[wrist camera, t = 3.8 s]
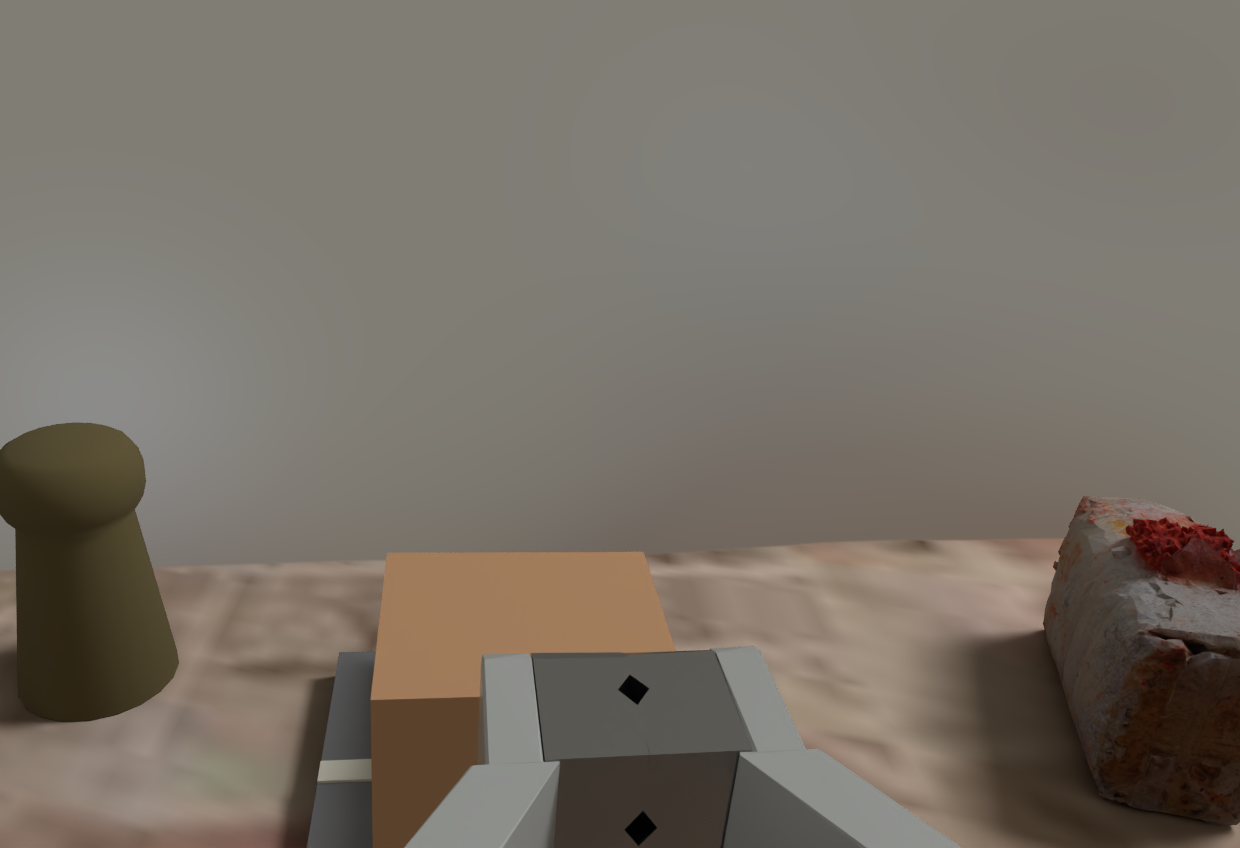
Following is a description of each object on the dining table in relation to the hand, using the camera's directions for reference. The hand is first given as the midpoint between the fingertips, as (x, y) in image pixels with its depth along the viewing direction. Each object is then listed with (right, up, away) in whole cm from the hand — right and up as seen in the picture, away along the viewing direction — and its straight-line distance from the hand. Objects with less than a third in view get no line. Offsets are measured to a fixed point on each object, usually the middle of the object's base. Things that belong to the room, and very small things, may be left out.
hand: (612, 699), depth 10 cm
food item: (+24, -11, +34) cm, 43 cm away
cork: (-22, -8, +30) cm, 38 cm away
